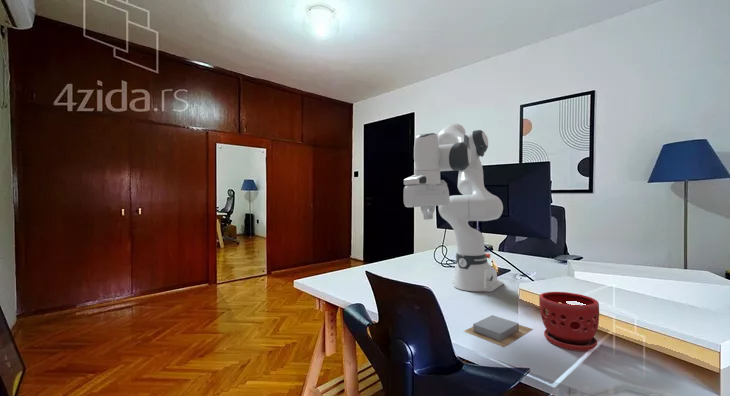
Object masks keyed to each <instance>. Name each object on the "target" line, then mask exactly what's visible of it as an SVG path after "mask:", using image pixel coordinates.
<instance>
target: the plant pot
mask: <svg viewBox="0 0 730 396" xmlns="http://www.w3.org/2000/svg"><path fill="white" fill-rule="evenodd" d="M538 296H539V297H538V298H539V300H538V301H539V313H540V316H541V320H542V323H543V325H544V328H545V330H544V331H543V334H544V337H545V339H546V340H547V341H548V342H550V343H551V344H553V345H554V346H557V347H560V348H562V349H565V350H570V351H576V352H586V351H591V350H594V349H595V348H596V347H597V346H598V340H597V338H596V337H595V335H596V333H597V331H598V328H599V322H600V321H599V320H600V303H599V301H598V300H597V299H595V298H594V297H591V296H587V295H584V294H579V293H573V292H567V291H566V292H565V291H547V292H543V293H541V294H539V295H538ZM566 301H577V302H580V303H583V304H586V305H581V304H580V305H571V304H570V305H569V304H567V303H566ZM546 310H547V313H548V314H546Z"/></svg>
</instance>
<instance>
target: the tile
mask: <svg viewBox="0 0 730 396" xmlns="http://www.w3.org/2000/svg"><path fill="white" fill-rule="evenodd" d="M519 325H520V323H519V322H517V321H516V322H515V321H512V320H510V319H506V318H503V317H501V316H496V315H490V316H487V317H486V318H483V319H481V320H478V321H477V322H475V323H473V324H472V327H473V331H474V332H477V333H480V334H482V335H485V336H488V337H490V338H493V339H496V340H498V341H502V340H503V339H505V338H507V337H508V336H510V335H512V334H514V333H515V332H517V331H519Z"/></svg>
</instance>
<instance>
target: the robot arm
mask: <svg viewBox="0 0 730 396" xmlns="http://www.w3.org/2000/svg"><path fill="white" fill-rule="evenodd" d="M488 147H489V139H488V136H487V134H486V133H485V132H484V131H483V130H482V129H477V130H476V129H475V130H473V131H472V132H467V133H466V130H465V127H464V126H463V125H461V124H460V123H451V124H449V125H446V126H445V127H443V128H442V129H441V130H440V131H439V133H438V134H437V133H435V132H431V133H430V132H428V133H424V134H423V133H422V134H421V133H420V134H417V136H415V139H414V145H413V160H414V166H415V167H414V170H413V173H414V174H413V175H411V176H408V177H406V178H404V179H403V185H404V187H403V204H404V207H406V208H419V207H420V211H421V213H422V217H423V220H425V221H427V220H433V219H434V214H435V213H434V212H435V210H436V206H437V207H438V213H439V216H440V217H441V218H442V220H445V221H446V222H447V223H448V224H449V225H450V226H451V228H452V230H453V231H454V234H455V240H456V254H455V258H456V259H455V261H456V262H457V263H455V265H454V275H453V279H452V284H453V286H454V287H455V288H456V289H459V290H462V291H467V292H487V293H488V292H489V293H491V292H494V291H495V290H497V289H498V288H500V287H501V286H503V285H504V281H502V280H500V279H498V272H497V270H496V268H495V267H493V266H492V265H491V264H490V263H489V262H488V259H491V253H487V252H486V253H485V251H486V250H485V237H484V233H482V232H481V231H480V230H477V229H476V228H473V227H471V226H470V224H469V222H488V221H494V220H498V219H499V218H500V217H501V216H502V214H503V211H504V205H503V202H502V200H501V199H500V197H498V196H497V195H494V194H492V193H491V192H490V191H488V190H487V188H486V187H485V183H484V182H485V181H484V169H483V168H484V167H483V164H482V162H481V160H480V157H482V158H483V157H484V156H485V153H486V152H487V150H488ZM450 171H451V172H453V171H456V172H457V171H458V176H457V189H458V192H459V193H460V194H458V195H457V194H455V195H450V191H449V187H448V183H447V182H446V181H445V180H444V179H441V172H450Z"/></svg>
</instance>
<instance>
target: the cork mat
mask: <svg viewBox="0 0 730 396" xmlns="http://www.w3.org/2000/svg"><path fill="white" fill-rule="evenodd" d="M532 330H534V329H533V328H531V327H527V326H524V325H522V324H519V331H517V332H515V333H514V334H512V335H510V336H508V337H507V338H505V339H503V340H502V341H498V340H496V339H493V338H490V337H488V336H485V335H482V334H480V333H477V332H474V331H473V326H471V327H469V328H467V329H465V330H463V332H464V333H466V334H469V335H472V336H474V337H477V338H480V339H482V340H484V341H487V342H489V343H491V344H495V345H498V346H500V347H502V348H505V347H506V346H508V345H510V344H511V343H513V342H515V341H516V340H519V338H521V337H523V336H525V335H526V334H528V333H529V332H531V331H532Z"/></svg>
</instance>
